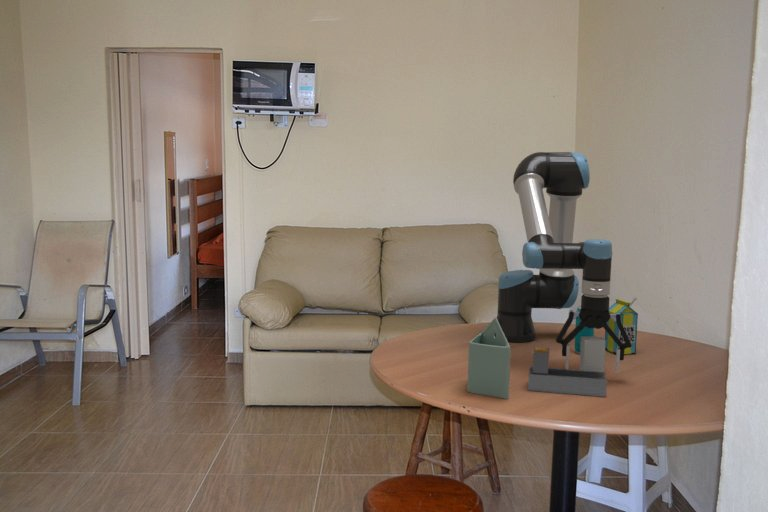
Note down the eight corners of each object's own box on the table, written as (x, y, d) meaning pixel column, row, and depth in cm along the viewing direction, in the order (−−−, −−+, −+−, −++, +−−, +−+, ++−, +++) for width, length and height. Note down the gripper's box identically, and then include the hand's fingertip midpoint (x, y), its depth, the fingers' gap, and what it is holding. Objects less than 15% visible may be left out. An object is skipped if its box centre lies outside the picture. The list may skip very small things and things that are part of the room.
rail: (529, 382, 199) (530, 344, 198) (603, 388, 194) (606, 349, 193) (528, 390, 192) (529, 351, 190) (605, 396, 187) (608, 357, 186)
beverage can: (585, 350, 234) (588, 305, 232) (596, 354, 229) (598, 308, 227) (570, 351, 232) (572, 306, 230) (580, 356, 227) (583, 309, 225)
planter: (454, 383, 197) (456, 312, 195) (480, 380, 200) (482, 311, 198) (481, 401, 182) (484, 326, 180) (509, 398, 185) (512, 324, 182)
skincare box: (599, 377, 204) (602, 335, 203) (604, 382, 200) (606, 339, 198) (578, 377, 204) (580, 335, 203) (582, 381, 200) (584, 339, 198)
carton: (638, 354, 230) (641, 298, 227) (616, 355, 228) (619, 299, 226) (625, 348, 237) (628, 294, 235) (604, 349, 235) (607, 295, 233)
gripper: (549, 295, 198) (546, 369, 201) (644, 299, 193) (640, 376, 195) (549, 290, 205) (546, 362, 208) (641, 295, 200) (636, 369, 202)
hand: (591, 369), depth 202 cm, fingers open, 13 cm apart
